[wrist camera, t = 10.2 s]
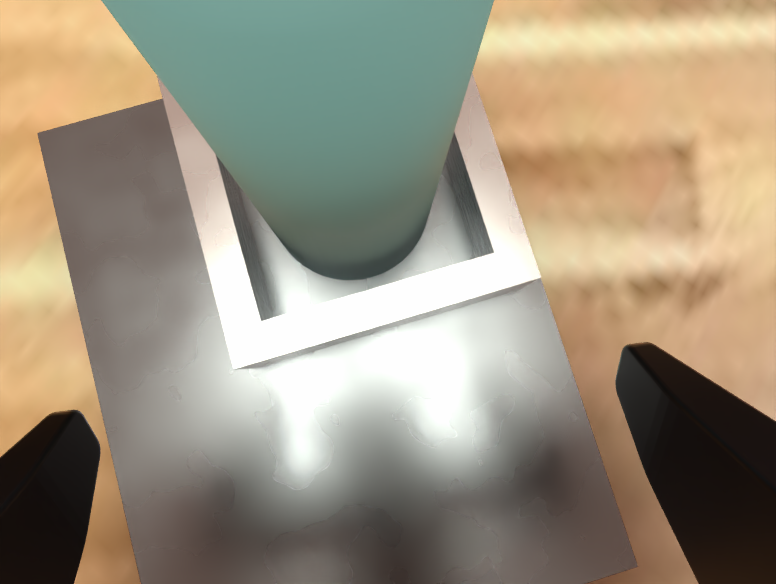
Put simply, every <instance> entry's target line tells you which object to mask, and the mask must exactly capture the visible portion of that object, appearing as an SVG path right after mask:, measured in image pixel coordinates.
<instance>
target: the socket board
mask: <svg viewBox="0 0 776 584" xmlns="http://www.w3.org/2000/svg"><path fill="white" fill-rule="evenodd" d="M157 78H158V82H159V86H160V89H161V93H162V97H163V99H160V100H156V101H152V102H149V103H145V104H141V105H138V106H134V107H131V108H127V109H123V110H120V111H116V112H112V113H109V114H105V115H101V116H98V117H94V118H91V119H87V120H83V121H80V122H76V123H72V124H69V125H65V126H61V127H58V128H54V129H51V130H47V131H43V132H40V133H38V138H39V142H40V146H41V151H42V155H43V160H44V164H45V168H46V173H47V177H48V181H49V186H50V190H51V194H52V199H53V203H54V207H55V212H56V216H57V220H58V225H59V229H60V233H61V238H62V242H63V246H64V251H65V255H66V259H67V264H68V268H69V273H70V277H71V281H72V286H73V290H74V294H75V299H76V303H77V307H78V312H79V316H80V320H81V325H82V329H83V333H84V338H85V342H86V346H87V351H88V355H89V359H90V364H91V368H92V372H93V377H94V381H95V386H96V390H97V394H98V399H99V403H100V407H101V412H102V416H103V420H104V425H105V429H106V433H107V438H108V442H109V446H110V451H111V455H112V459H113V464H114V468H115V472H116V477H117V481H118V485H119V490H120V494H121V498H122V503H123V507H124V512H125V516H126V520H127V525H128V529H129V533H130V538H131V542H132V546H133V551H134V555H135V559H136V564H137V568H138V572H139V577H140V581H141V584H586V583H589V582H592V581H595V580H598V579H601V578H604V577H607V576H610V575H613V574H617V573H620V572H623V571H626V570H629V569H632V568H635V567H638V566H637V563H636V560H635V557H634V554H633V551H632V548H631V545H630V542H629V539H628V536H627V533H626V530H625V527H624V524H623V521H622V518H621V515H620V512H619V509H618V506H617V503H616V500H615V497H614V494H613V491H612V488H611V485H610V483H609V480H608V477H607V474H606V471H605V468H604V465H603V462H602V459H601V456H600V453H599V450H598V447H597V444H596V441H595V438H594V435H593V432H592V429H591V426H590V423H589V420H588V417H587V414H586V411H585V408H584V405H583V402H582V399H581V396H580V393H579V391H578V388H577V385H576V382H575V379H574V376H573V373H572V370H571V367H570V364H569V361H568V358H567V355H566V352H565V349H564V346H563V343H562V340H561V337H560V334H559V331H558V328H557V325H556V322H555V319H554V316H553V313H552V310H551V307H550V304H549V301H548V299H547V296H546V293H545V290H544V287H543V284H542V281H541V275H540V272H539V269H538V266H537V263H536V260H535V257H534V254H533V252H532V249H531V246H530V243H529V240H528V237H527V234H526V231H525V228H524V225H523V222H522V219H521V216H520V213H519V210H518V207H517V204H516V201H515V198H514V195H513V192H512V189H511V186H510V183H509V180H508V177H507V174H506V171H505V168H504V166H503V163H502V160H501V157H500V154H499V151H498V148H497V145H496V142H495V139H494V136H493V133H492V130H491V127H490V124H489V121H488V118H487V115H486V112H485V109H484V106H483V103H482V100H481V97H480V94H479V91H478V88H477V85H476V82H475V80H474V77H473V74H471V78H470V81H469V84H468V87H467V91H466V94H465V97H464V101H463V104H462V107H461V110H460V114H459V117H458V120H457V124H456V127H455V130H454V134H453V137H452V140H451V143H450V147H449V150H448V153H447V157H446V160H445V163H444V166H443V170H442V173H441V176H440V180H439V183H438V186H437V190H436V193H435V196H434V199H433V203H432V206H431V209H430V213H429V216H428V219H427V223H426V226H425V229H424V231H423V234H422V236H421V238H420V240H419V241H418V243H417V245H416V246H415V248H414V249H413V250H412V251H411V252H410V254H409V255H408V256H407V257H406V258H405V259H404V260H403V261H401V262H400V263H399V264H397V265H396V266H395V267H393V268H391V269H390V270H388V271H386V272H384V273H382V274H379V275H376V276H374V277H370V278H366V279H359V280H340V279H333V278H329V277H326V276H322V275H320V274H318V273H315V272H313V271H311V270H310V269H308V268H306V267H305V266H303V265H302V264H301V263H299V262H298V261H297V260H296V259H295V258H294V257H293V256H292V255H291V254H290V253H289V252H288V251H287V249H286V248H285V247H284V245H283V244H282V243H281V241H280V240H279V239H278V237H277V236H276V235H275V233H274V232H273V231H272V229H271V228H270V227H269V225H268V224H267V223H266V221H265V220H264V219H263V217H262V216H261V214H260V213H259V212H258V210H257V209H256V208H255V206H254V205H253V204H252V202H251V201H250V200H249V198H248V197H247V196H246V194H245V193H244V192H243V190H242V189H241V188H240V186H239V185H238V184H237V182H236V181H235V179H234V178H233V177H232V175H231V174H230V173H229V171H228V170H227V169H226V167H225V166H224V165H223V163H222V162H221V161H220V159H219V158H218V157H217V155H216V154H215V153H214V151H213V150H212V149H211V147H210V146H209V144H208V143H207V142H206V140H205V139H204V138H203V136H202V135H201V134H200V132H199V131H198V130H197V128H196V127H195V126H194V124H193V123H192V122H191V120H190V119H189V118H188V116H187V115H186V114H185V112H184V111H183V109H182V108H181V107H180V105H179V104H178V103H177V101H176V100H175V99H174V97H173V96H172V95H171V93H170V92H169V91H168V89H167V88H166V87H165V85H164V84H163V83H162V81H161V80H160V79H159V77H158V76H157Z"/></svg>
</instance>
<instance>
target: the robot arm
mask: <svg viewBox="0 0 776 584" xmlns="http://www.w3.org/2000/svg"><path fill="white" fill-rule="evenodd" d="M616 391H617V394H618V397H619V400H620V403H621V406H622V409H623V411H624V414H625V417H626V420H627V423H628V426H629V428H630V431H631V434H632V437H633V440H634V443H635V446H636V448H637V451H638V454H639V457H640V460H641V462H642V465H643V468H644V470H645V473H646V475H647V478H648V480H649V482H650V484H651V486H652V489H653V491H654V493H655V495H656V497H657V499H658V501H659V503H660V505H661V507H662V509H663V511H664V513H665V515H666V517H667V519H668V522H669V524H670V526H671V528H672V530H673V532H674V534H675V536H676V538H677V540H678V542H679V544H680V546H681V548H682V550H683V552H684V555H685V557H686V559H687V561H688V563H689V565H690V567H691V569H692V571H693V573H694V575H695V577H696V579H697V581H698V583H699V584H776V421H775V420H773V419H771V418H770V417H768V416H767V415H765V414H763V413H762V412H760V411H759V410H757V409H756V408H754V407H752V406H751V405H749V404H748V403H746V402H744V401H743V400H741V399H740V398H738V397H737V396H735V395H733V394H732V393H730V392H729V391H727V390H725V389H724V388H722V387H721V386H719V385H718V384H716V383H714V382H713V381H711V380H710V379H708V378H706V377H705V376H703V375H702V374H700V373H699V372H697V371H695V370H694V369H692V368H691V367H689V366H687V365H686V364H684V363H683V362H681V361H680V360H678V359H676V358H675V357H673V356H672V355H670V354H668V353H667V352H665V351H664V350H662V349H661V348H659V347H657V346H656V345H654V344H652V343H649V342H644V343H635V344H628V345H626V346H625V347H624V348H623V350H622V353H621V357H620V362H619V366H618V371H617V375H616ZM99 460H100V444H99V441H98V439H97V437H96V436H95V434H94V432H93V431H92V429H91V427H90V425H89V424H88V422H87V420H86V419H85V417H84V415H83V414H82V413H81V412H80V411H78V410H68V411H59V412H54V413H51V414H49V415H48V416H47V417H45V418H44V419H43V420H42V421H41V422H40V423H39V424H37V425H36V426H35V427H34V428H33V429H32V430H31V431H30V432H28V433H27V434H26V435H25V436H24V437H23V438H22V439H21V440H19V441H18V442H17V443H16V444H15V445H14V446H13V447H11V448H10V449H9V450H8V451H7V452H6V453H5V454H4V455H2V456H1V457H0V584H74V581H75V578H76V574H77V571H78V567H79V564H80V560H81V557H82V553H83V549H84V545H85V541H86V536H87V531H88V525H89V519H90V513H91V507H92V501H93V496H94V490H95V484H96V478H97V472H98V466H99Z"/></svg>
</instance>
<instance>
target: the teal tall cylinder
mask: <svg viewBox="0 0 776 584" xmlns="http://www.w3.org/2000/svg"><path fill="white" fill-rule="evenodd" d="M102 2H103V3H104V4H105V6H106V7H107V9H108V10H109V11H110V13H111V14H112V15H113V17H114V18H115V19H116V21H117V22H118V23H119V25H120V26H121V27H122V29H123V30H124V31H125V33H126V34H127V35H128V37H129V38H130V39H131V41H132V42H133V44H134V45H135V46H136V48H137V49H138V50H139V52H140V53H141V54H142V56H143V57H144V58H145V60H146V61H147V62H148V64H149V65H150V66H151V68H152V69H153V70H154V72H155V73H156V74H157V76H158V77H159V79H160V80H161V81H162V83H163V84H164V85H165V87H166V88H167V89H168V91H169V92H170V93H171V95H172V96H173V97H174V99H175V100H176V101H177V103H178V104H179V105H180V107H181V108H182V109H183V111H184V112H185V114H186V115H187V116H188V118H189V119H190V120H191V122H192V123H193V124H194V126H195V127H196V128H197V130H198V131H199V132H200V134H201V135H202V136H203V138H204V139H205V140H206V142H207V143H208V144H209V146H210V147H211V149H212V150H213V151H214V153H215V154H216V155H217V157H218V158H219V159H220V161H221V162H222V163H223V165H224V166H225V167H226V169H227V170H228V171H229V173H230V174H231V175H232V177H233V178H234V179H235V181H236V182H237V184H238V185H239V186H240V188H241V189H242V190H243V192H244V193H245V194H246V196H247V197H248V198H249V200H250V201H251V202H252V204H253V205H254V206H255V208H256V209H257V210H258V212H259V213H260V214H261V216H262V217H263V219H264V220H265V221H266V223H267V224H268V225H269V227H270V228H271V229H272V231H273V232H274V233H275V235H276V236H277V237H278V239H279V240H280V241H281V243H282V244H283V245H284V247H285V248H286V249H287V251H288V252H289V253H290V254H291V255H292V256H293V257H294V258H295V259H296V260H297V261H298V262H299V263H301V264H302V265H303V266H305V267H306V268H308V269H310V270H311V271H313V272H315V273H318V274H320V275H322V276H326V277H329V278H333V279H340V280H359V279H366V278H370V277H374V276H376V275H379V274H382V273H384V272H386V271H388V270H390V269H391V268H393V267H395V266H396V265H397V264H399V263H400V262H401V261H403V260H404V259H405V258H406V257H407V256H408V255H409V254H410V252H411V251H412V250H413V249H414V248H415V246H416V245H417V243H418V241H419V240H420V238H421V236H422V234H423V231H424V229H425V226H426V223H427V219H428V216H429V213H430V209H431V206H432V203H433V199H434V196H435V193H436V190H437V186H438V183H439V180H440V176H441V173H442V170H443V166H444V163H445V160H446V157H447V153H448V150H449V147H450V143H451V140H452V137H453V134H454V130H455V127H456V124H457V120H458V117H459V114H460V110H461V107H462V104H463V101H464V97H465V94H466V91H467V87H468V84H469V81H470V78H471V74H472V71H473V68H474V64H475V61H476V58H477V54H478V51H479V48H480V45H481V41H482V38H483V35H484V31H485V28H486V25H487V21H488V18H489V15H490V12H491V8H492V5H493V2H494V0H102Z"/></svg>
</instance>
